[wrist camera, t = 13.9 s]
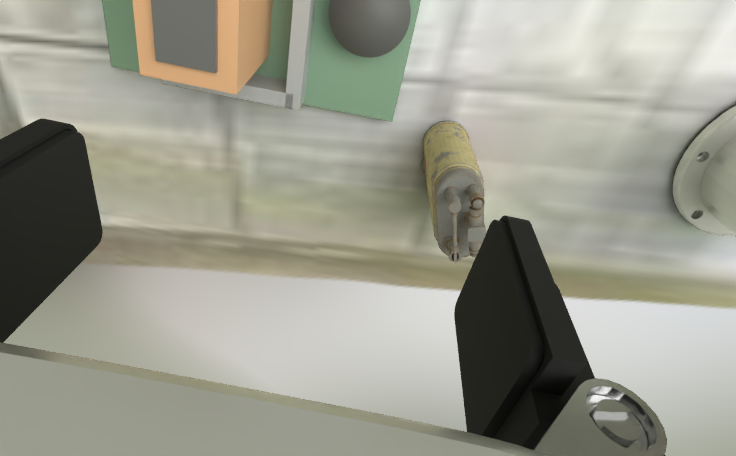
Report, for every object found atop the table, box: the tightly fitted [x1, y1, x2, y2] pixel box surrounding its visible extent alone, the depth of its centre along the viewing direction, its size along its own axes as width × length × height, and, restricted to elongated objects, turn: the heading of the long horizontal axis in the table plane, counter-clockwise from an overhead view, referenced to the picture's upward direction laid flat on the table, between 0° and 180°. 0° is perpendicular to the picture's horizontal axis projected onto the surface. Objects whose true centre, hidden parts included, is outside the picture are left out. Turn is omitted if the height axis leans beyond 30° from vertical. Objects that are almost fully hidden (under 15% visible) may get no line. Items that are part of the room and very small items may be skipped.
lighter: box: [421, 121, 486, 263], centre depth 31 cm, size 7×4×10 cm, turn 8°
